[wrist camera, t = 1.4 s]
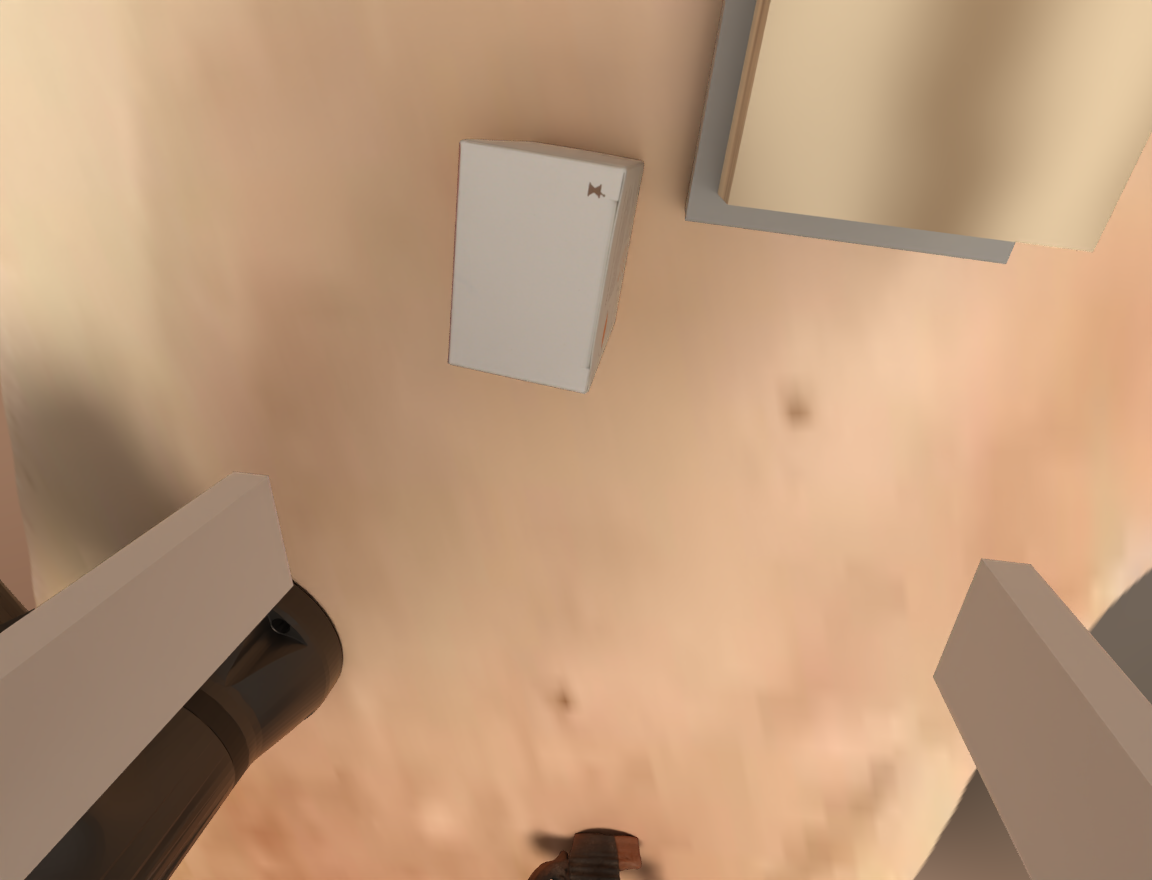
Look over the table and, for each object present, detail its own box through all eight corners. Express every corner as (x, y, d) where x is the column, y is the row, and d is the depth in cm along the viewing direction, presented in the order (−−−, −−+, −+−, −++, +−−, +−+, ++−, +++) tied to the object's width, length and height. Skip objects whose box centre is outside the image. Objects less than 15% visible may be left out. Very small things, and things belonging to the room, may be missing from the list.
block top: (717, 193, 22) (727, 204, 17) (787, -157, 18) (831, -290, 13) (991, 229, 21) (1093, 252, 16) (1138, -133, 17) (1345, -266, 12)
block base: (685, 208, 28) (685, 220, 23) (744, -116, 23) (762, -199, 18) (942, 243, 27) (1006, 263, 22) (1068, -91, 22) (1193, -171, 17)
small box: (532, 140, 28) (456, 130, 19) (648, 160, 27) (630, 161, 18) (513, 305, 31) (442, 367, 22) (615, 326, 31) (586, 398, 22)
